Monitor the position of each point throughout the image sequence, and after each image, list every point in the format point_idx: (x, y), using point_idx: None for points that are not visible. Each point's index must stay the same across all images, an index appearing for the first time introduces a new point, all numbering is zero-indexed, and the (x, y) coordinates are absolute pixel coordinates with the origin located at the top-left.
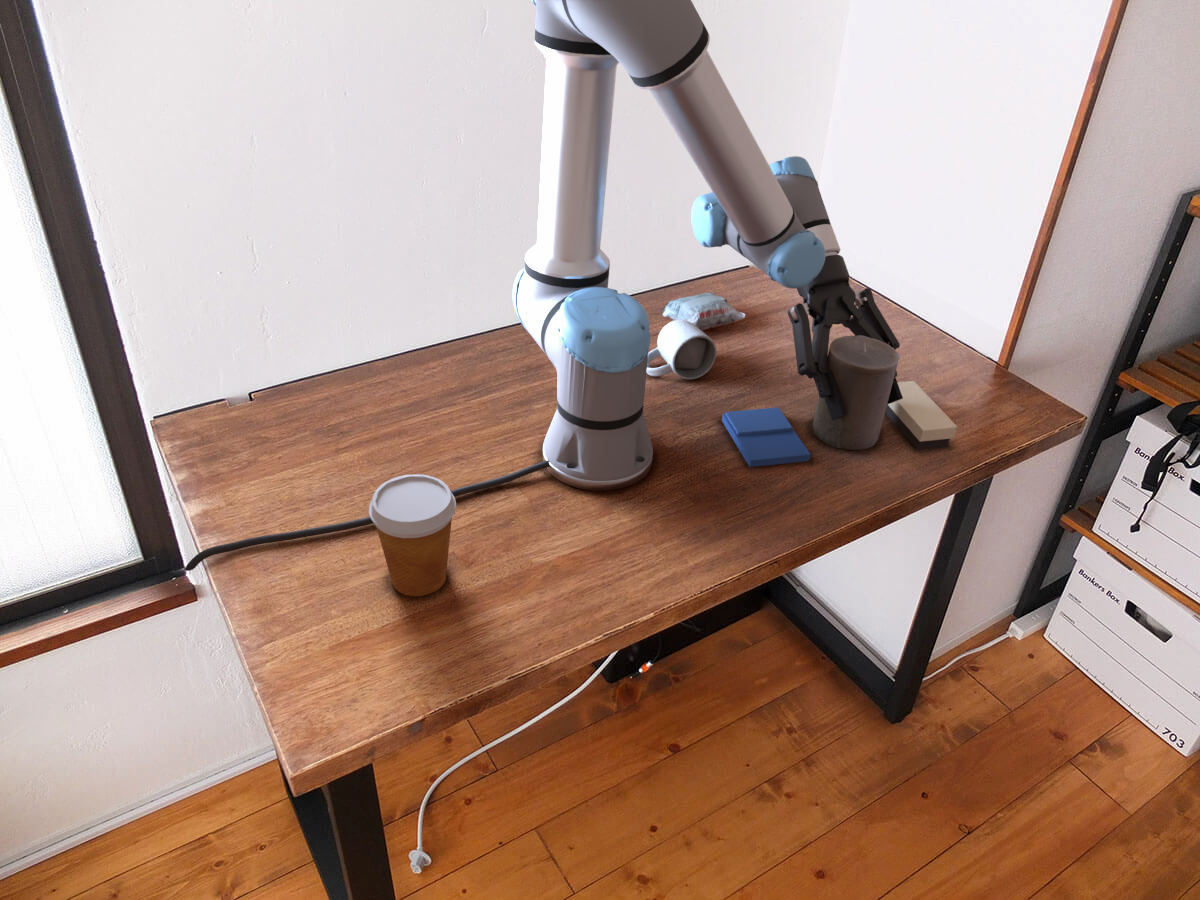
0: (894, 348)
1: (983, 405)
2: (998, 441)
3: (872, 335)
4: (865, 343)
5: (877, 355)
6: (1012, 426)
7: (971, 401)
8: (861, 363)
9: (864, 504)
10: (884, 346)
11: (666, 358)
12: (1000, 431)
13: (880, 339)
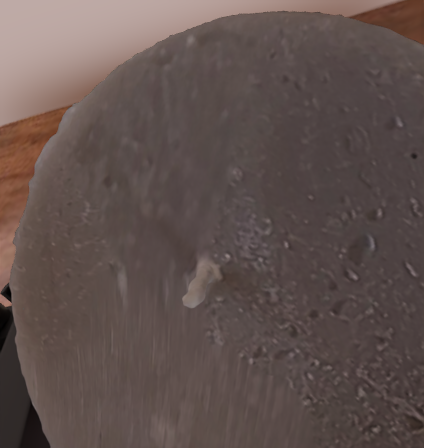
0: (7, 286)
1: (5, 221)
2: (55, 131)
3: (9, 426)
4: (121, 366)
5: (166, 172)
6: (13, 158)
7: (11, 238)
8: (386, 104)
9: (409, 23)
10: (42, 271)
11: None
12: (35, 153)
13: (3, 373)
